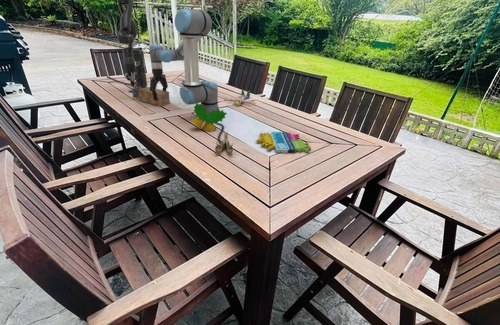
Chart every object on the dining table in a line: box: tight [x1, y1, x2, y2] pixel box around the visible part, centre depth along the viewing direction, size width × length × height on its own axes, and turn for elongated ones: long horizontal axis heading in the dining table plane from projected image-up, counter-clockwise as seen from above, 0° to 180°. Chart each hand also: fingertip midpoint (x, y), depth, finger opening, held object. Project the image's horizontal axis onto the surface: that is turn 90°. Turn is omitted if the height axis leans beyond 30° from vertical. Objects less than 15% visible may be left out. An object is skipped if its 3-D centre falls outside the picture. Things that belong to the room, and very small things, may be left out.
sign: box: [256, 131, 312, 154], centre depth 152 cm, size 26×2×30 cm
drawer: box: [128, 87, 142, 99], centre depth 205 cm, size 25×9×7 cm, turn 66°
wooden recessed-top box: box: [138, 86, 171, 107], centre depth 202 cm, size 20×10×9 cm, turn 66°
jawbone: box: [214, 131, 234, 156], centre depth 136 cm, size 9×15×10 cm
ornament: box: [191, 102, 228, 132], centre depth 162 cm, size 21×8×15 cm, turn 105°
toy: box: [223, 89, 257, 106], centre depth 219 cm, size 28×7×30 cm
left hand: (133, 85), depth 206 cm, fingers closed
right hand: (160, 98), depth 200 cm, fingers closed on wooden recessed-top box, 10 cm apart
